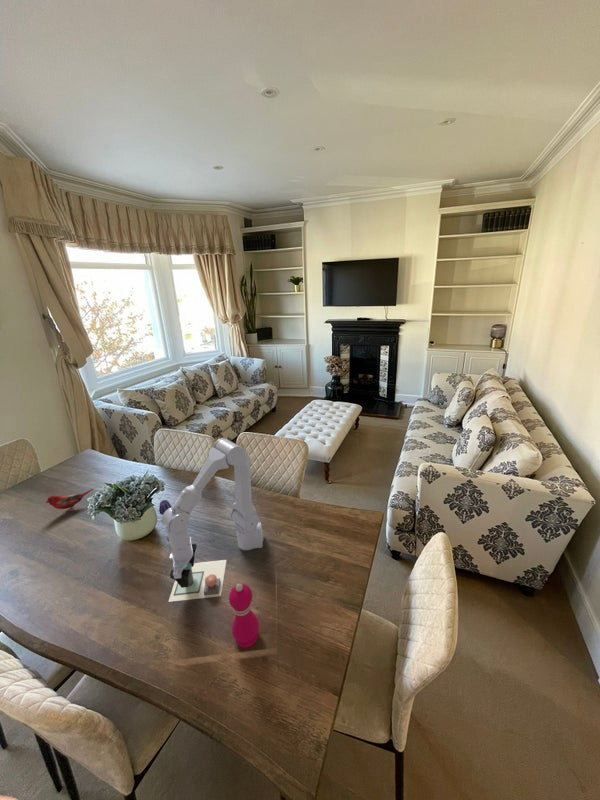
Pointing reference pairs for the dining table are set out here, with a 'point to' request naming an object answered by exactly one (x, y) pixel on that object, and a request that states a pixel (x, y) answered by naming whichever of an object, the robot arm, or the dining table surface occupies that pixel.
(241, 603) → the pepper mill
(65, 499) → the decorative bird figurine
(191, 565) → the salt shaker
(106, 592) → the dining table surface
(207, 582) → the button
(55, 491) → the dining table surface
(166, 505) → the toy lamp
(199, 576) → the board
